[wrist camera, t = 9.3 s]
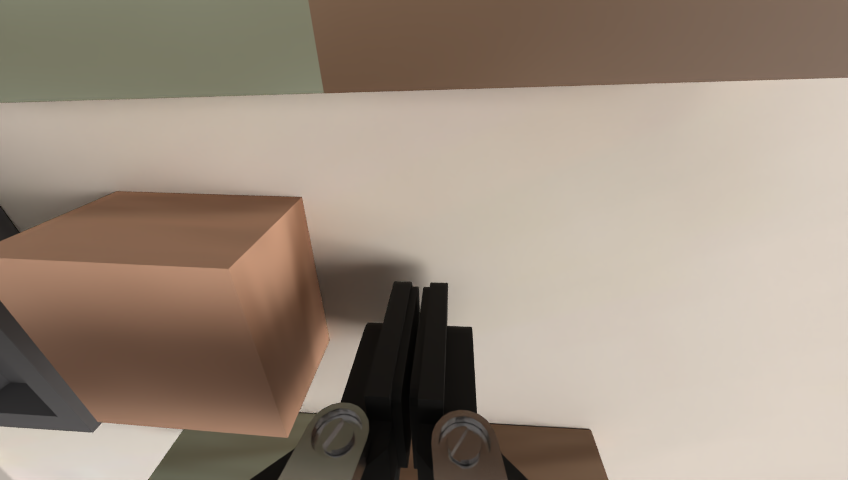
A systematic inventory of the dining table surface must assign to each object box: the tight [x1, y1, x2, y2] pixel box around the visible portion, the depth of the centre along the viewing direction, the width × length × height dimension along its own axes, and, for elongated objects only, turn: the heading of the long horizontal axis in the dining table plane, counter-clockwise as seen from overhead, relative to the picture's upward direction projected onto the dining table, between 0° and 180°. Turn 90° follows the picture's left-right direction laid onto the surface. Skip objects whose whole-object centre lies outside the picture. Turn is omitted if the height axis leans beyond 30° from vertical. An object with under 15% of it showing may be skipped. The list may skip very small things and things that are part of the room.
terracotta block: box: [0, 191, 330, 438], centre depth 10 cm, size 6×6×4 cm
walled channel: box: [0, 0, 848, 480], centre depth 10 cm, size 17×18×4 cm
